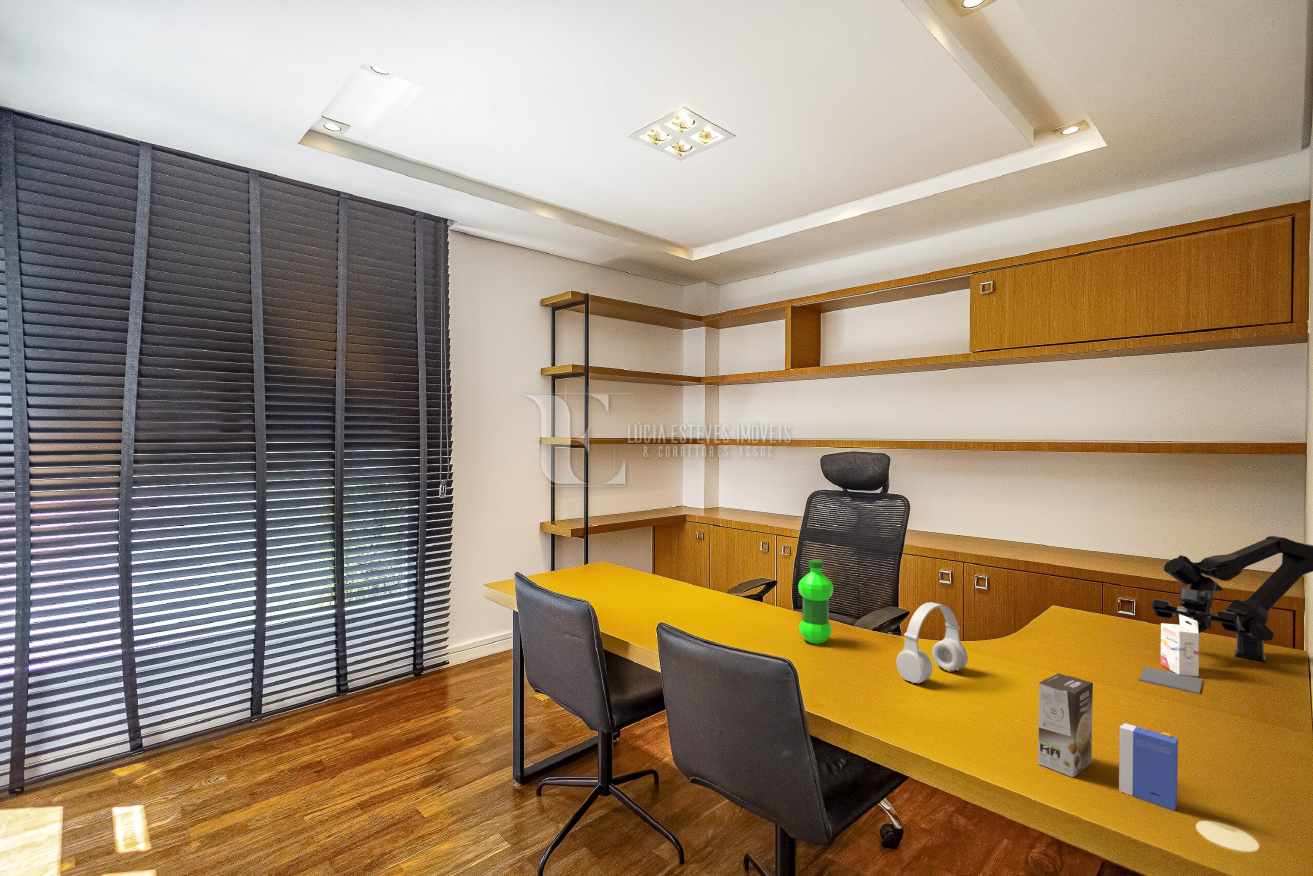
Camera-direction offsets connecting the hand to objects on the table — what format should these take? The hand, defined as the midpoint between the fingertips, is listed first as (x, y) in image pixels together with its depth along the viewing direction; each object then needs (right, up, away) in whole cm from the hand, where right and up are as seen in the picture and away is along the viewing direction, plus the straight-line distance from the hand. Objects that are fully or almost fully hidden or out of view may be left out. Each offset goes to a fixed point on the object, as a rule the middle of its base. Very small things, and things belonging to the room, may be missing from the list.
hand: (1187, 639), depth 172 cm
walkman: (-63, -7, -64) cm, 90 cm away
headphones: (-76, -7, -9) cm, 77 cm away
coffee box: (-70, -7, -52) cm, 88 cm away
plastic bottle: (-101, -7, +18) cm, 102 cm away
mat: (-14, -7, -11) cm, 19 cm away
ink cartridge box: (-7, -7, -5) cm, 11 cm away
